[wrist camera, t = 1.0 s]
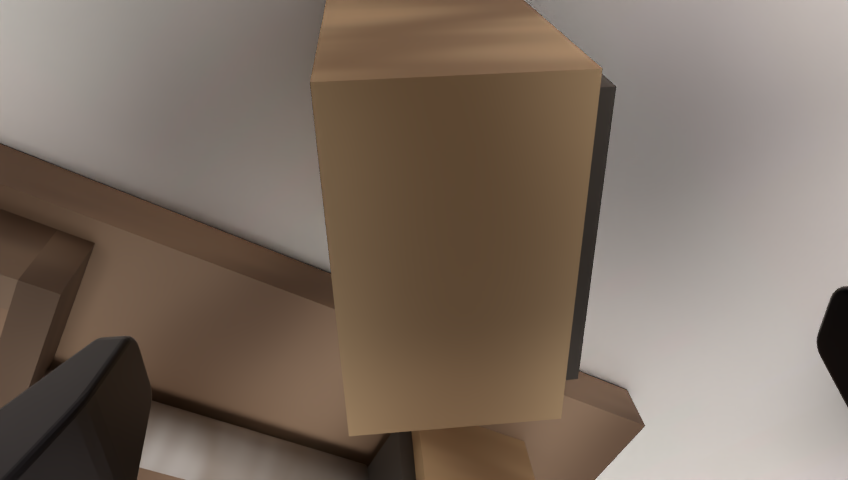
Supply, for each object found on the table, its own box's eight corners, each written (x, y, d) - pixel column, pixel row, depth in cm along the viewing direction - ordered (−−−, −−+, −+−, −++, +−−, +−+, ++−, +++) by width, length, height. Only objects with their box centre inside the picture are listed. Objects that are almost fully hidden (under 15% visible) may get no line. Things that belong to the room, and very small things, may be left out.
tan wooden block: (516, -24, 14) (633, 67, 8) (504, 220, 17) (583, 416, 11) (329, -17, 14) (310, 82, 8) (351, 229, 17) (348, 436, 11)
